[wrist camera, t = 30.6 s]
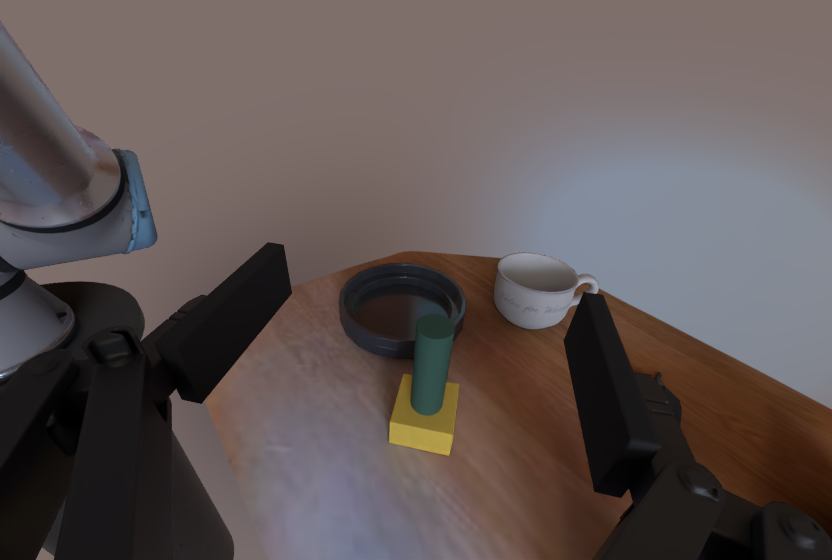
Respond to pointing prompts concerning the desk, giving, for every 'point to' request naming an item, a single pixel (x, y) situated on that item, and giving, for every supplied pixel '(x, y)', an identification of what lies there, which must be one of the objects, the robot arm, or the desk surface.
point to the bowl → (397, 306)
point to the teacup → (537, 289)
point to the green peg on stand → (427, 391)
